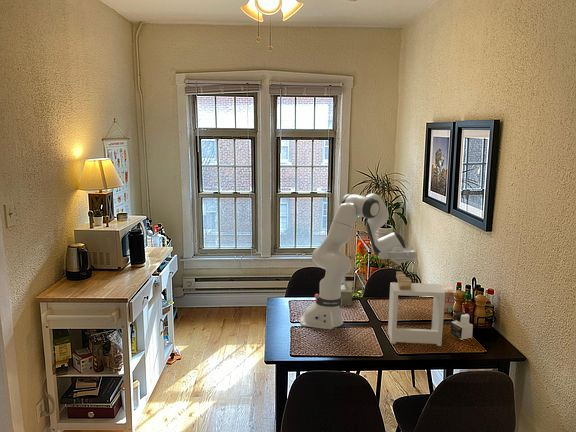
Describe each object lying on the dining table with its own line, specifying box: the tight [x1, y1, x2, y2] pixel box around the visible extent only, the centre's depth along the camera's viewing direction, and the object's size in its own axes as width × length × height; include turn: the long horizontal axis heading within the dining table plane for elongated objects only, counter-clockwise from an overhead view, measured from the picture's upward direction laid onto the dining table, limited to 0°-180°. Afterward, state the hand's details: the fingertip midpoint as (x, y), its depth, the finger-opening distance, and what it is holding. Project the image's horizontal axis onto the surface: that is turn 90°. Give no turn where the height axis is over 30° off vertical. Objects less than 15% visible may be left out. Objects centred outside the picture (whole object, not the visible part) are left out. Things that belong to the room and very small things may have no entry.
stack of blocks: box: [439, 284, 456, 314], centre depth 259 cm, size 21×6×12 cm, turn 170°
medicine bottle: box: [450, 311, 474, 341], centre depth 219 cm, size 7×7×12 cm
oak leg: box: [395, 271, 412, 290], centre depth 218 cm, size 19×5×4 cm, turn 175°
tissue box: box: [341, 275, 354, 306], centre depth 268 cm, size 19×10×16 cm, turn 170°
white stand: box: [387, 281, 445, 347], centre depth 215 cm, size 23×12×26 cm, turn 85°
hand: (396, 255), depth 238 cm, fingers open, 8 cm apart
